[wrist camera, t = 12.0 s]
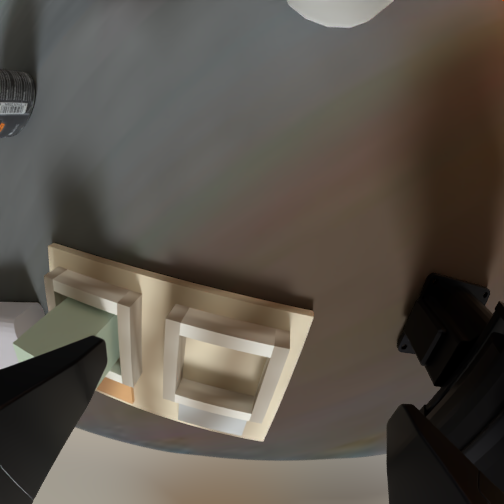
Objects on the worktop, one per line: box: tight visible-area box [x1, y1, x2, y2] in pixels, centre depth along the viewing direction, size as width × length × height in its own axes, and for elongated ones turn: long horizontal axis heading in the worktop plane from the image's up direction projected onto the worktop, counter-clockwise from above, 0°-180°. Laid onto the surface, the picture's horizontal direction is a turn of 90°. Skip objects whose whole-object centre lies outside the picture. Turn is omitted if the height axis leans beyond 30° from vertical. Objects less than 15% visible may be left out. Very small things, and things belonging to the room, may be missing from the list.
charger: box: [0, 302, 45, 369], centre depth 24 cm, size 5×9×15 cm
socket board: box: [44, 243, 314, 442], centre depth 22 cm, size 21×15×3 cm
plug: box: [13, 297, 120, 390], centre depth 18 cm, size 4×4×8 cm
